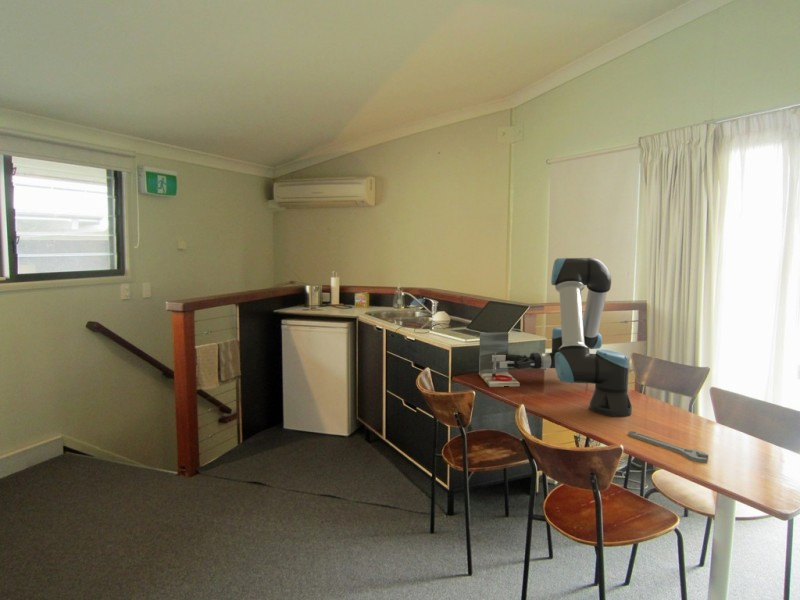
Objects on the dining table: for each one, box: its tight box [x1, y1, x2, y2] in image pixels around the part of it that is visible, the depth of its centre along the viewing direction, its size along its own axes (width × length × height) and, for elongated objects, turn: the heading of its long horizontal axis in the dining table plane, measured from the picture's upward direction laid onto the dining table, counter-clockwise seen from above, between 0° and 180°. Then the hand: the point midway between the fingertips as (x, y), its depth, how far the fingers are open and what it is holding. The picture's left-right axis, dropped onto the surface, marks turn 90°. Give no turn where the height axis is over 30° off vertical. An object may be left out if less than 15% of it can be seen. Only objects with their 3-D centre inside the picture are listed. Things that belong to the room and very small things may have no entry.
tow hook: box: [492, 352, 513, 381], centre depth 224 cm, size 8×13×9 cm
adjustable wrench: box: [627, 430, 709, 464], centre depth 150 cm, size 25×6×2 cm, turn 27°
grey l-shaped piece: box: [478, 331, 521, 388], centre depth 227 cm, size 22×14×22 cm, turn 3°
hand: (495, 361), depth 224 cm, fingers open, 13 cm apart
